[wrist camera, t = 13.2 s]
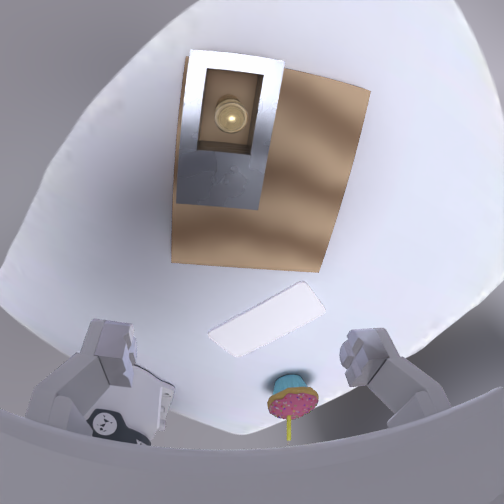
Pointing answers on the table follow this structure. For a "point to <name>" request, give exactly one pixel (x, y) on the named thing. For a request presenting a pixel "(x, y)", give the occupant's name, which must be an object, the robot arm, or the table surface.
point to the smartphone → (268, 320)
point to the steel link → (221, 153)
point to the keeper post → (230, 114)
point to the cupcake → (291, 399)
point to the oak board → (276, 175)
